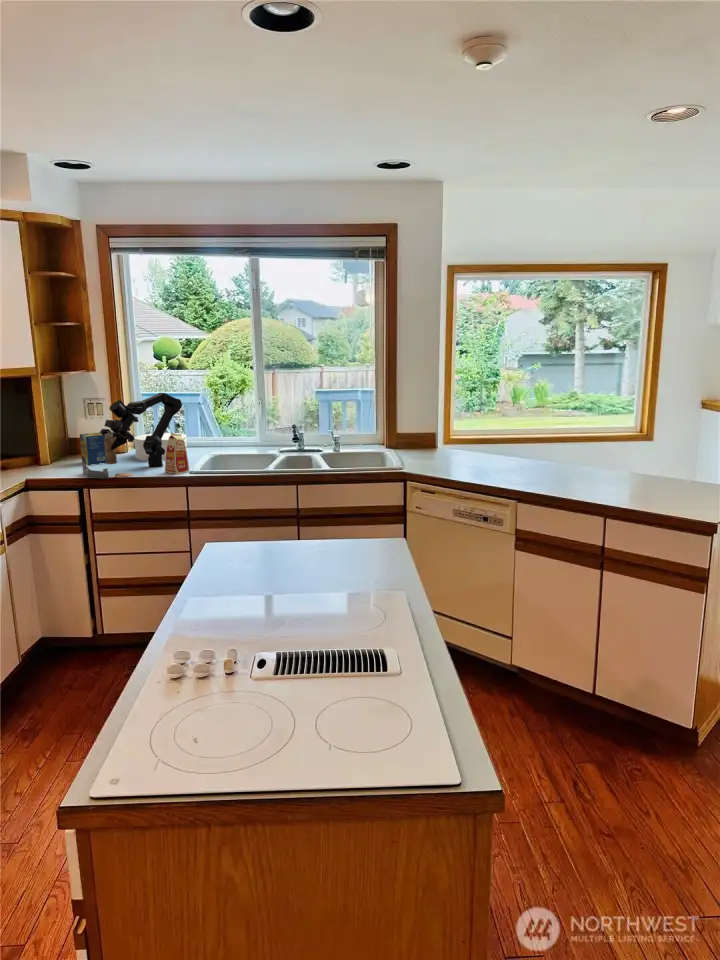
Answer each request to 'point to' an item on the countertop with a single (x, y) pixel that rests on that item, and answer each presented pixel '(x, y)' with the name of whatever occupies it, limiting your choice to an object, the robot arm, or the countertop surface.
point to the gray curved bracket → (95, 472)
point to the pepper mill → (108, 452)
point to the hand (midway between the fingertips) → (107, 449)
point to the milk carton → (176, 455)
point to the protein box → (92, 448)
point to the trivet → (122, 475)
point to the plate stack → (142, 454)
